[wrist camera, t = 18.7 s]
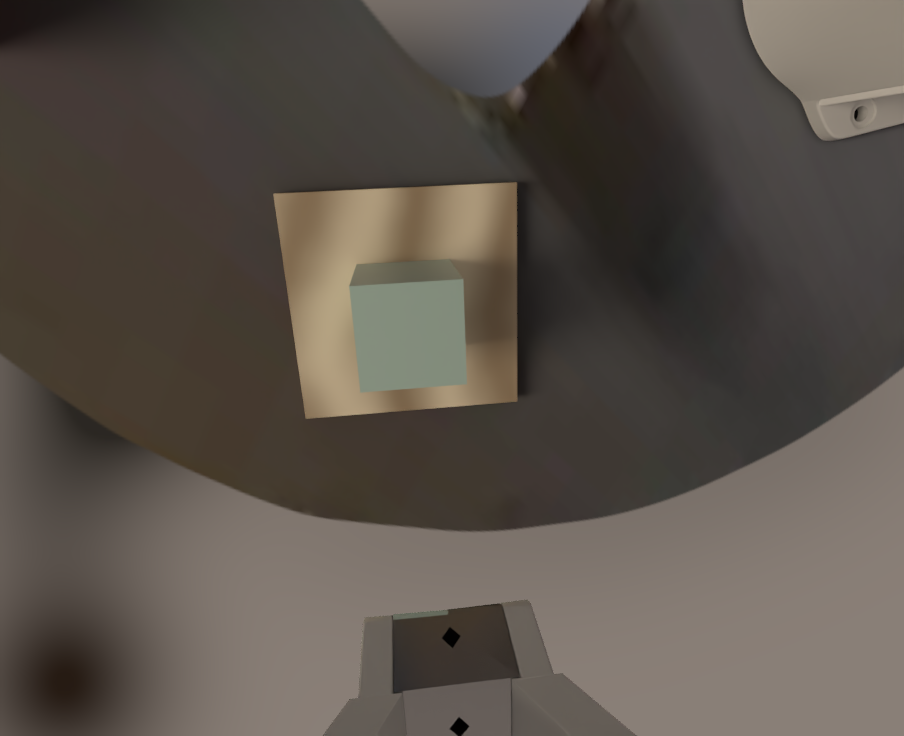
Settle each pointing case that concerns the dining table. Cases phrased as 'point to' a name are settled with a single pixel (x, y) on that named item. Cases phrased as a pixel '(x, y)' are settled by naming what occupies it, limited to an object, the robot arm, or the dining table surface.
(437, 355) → the pale green cube
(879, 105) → the robot arm
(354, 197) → the post board
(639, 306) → the dining table surface
